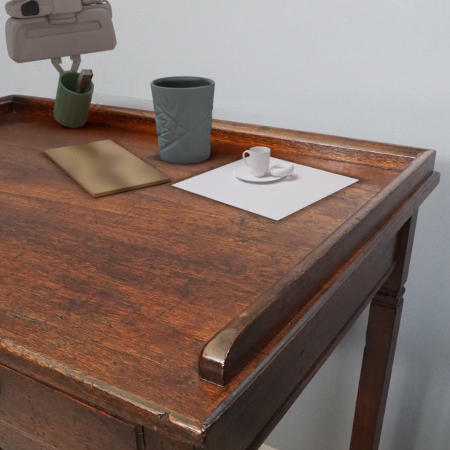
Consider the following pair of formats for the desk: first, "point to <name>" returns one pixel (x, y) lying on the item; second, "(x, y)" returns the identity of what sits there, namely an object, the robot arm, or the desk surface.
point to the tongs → (83, 74)
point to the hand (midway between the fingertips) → (69, 81)
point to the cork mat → (105, 167)
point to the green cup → (72, 101)
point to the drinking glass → (183, 117)
